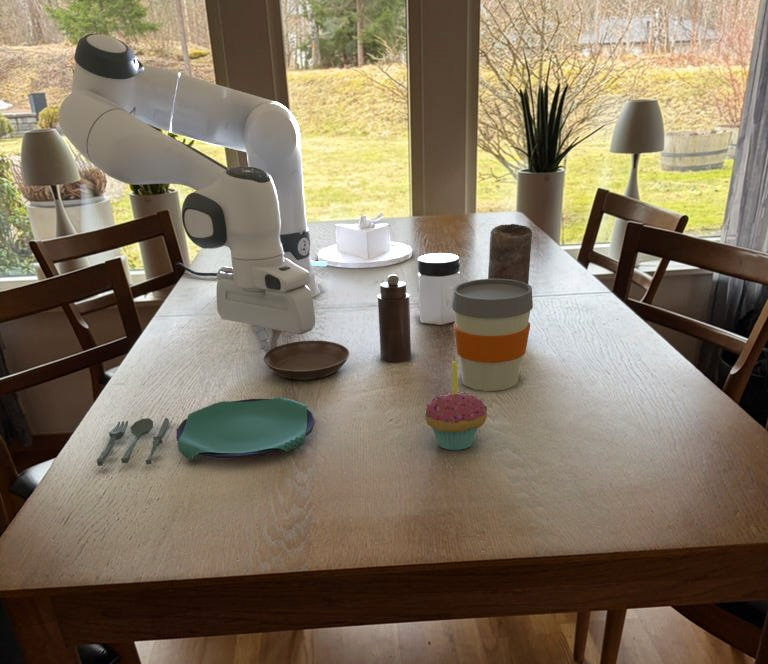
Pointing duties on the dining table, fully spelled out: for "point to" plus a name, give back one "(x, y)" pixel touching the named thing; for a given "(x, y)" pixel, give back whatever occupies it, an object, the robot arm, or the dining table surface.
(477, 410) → the cupcake
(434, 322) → the jar
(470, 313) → the reusable coffee cup
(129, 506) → the dining table surface
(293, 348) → the saucer
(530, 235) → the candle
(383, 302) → the pepper mill
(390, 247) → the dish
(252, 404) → the cutlery set
